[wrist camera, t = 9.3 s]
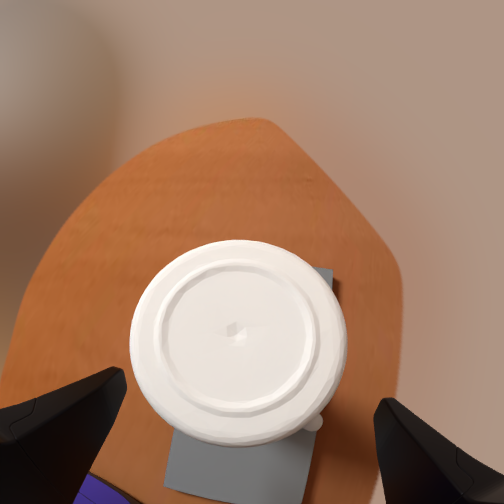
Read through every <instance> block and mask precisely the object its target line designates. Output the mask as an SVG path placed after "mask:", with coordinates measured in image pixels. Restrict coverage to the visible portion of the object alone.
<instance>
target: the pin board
mask: <svg viewBox="0 0 504 504" xmlns="http://www.w3.org/2000/svg"><path fill="white" fill-rule="evenodd" d="M312 268H314V269H315V270H316V271H317V272H318V273H319V274H320V275H321V276H322V278H323V279H324V280H325V281H326V282H327V284H328V285H329V286H330V288H331V290H332V280H333V270H331V269H324V268H318V267H312ZM322 424H323V418H322V416H321V415H320V414H318V415H317V416H316V417H315V418H314V419H313V420H312V421H311V422H310V423H308V424H307V425H306V426H304V427H303V428H302V429H300V430H299V431H297V432H295V433H294V434H292V435H290V436H288V437H286V438H283V439H281V440H279V441H276V442H273V443H269V444H266V445H262V446H256V447H249V448H229V447H222V446H216V445H211V444H207V443H204V442H202V441H199V440H196V439H194V438H191V437H189V436H187V435H185V434H184V433H182V432H180V431H178V430H177V429H175V428H174V433H173V438H172V443H171V448H170V453H169V458H168V464H167V469H166V474H165V480H164V487H167V488H171V489H174V490H177V491H181V492H184V493H188V494H192V495H196V496H200V497H204V498H208V499H213V500H218V501H223V502H228V503H234V504H301V503H302V499H303V495H304V491H305V486H306V482H307V478H308V473H309V468H310V463H311V458H312V453H313V448H314V443H315V437H316V431H317V430H318V429H319V428H320V427H321V426H322Z"/></svg>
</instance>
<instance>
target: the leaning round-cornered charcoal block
mask: <svg viewBox="0 0 504 504" xmlns="http://www.w3.org/2000/svg"><path fill="white" fill-rule="evenodd" d="M73 504H140V503H139V502H137V501H136V500H135V499H133V498H132V497H130V496H129V495H127V494H126V493H124V492H123V491H121V490H119V489H118V488H116V487H115V486H113V485H112V484H110V483H108V482H107V481H105V480H103V479H102V478H100V477H98V476H96V475H94V474H93V473H91V472H88V474H87V476H86V478H85V480H84V482H83V484H82V486H81V488H80V490H79V492H78V494H77V496H76V498H75V500H74V502H73Z"/></svg>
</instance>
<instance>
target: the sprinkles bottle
mask: <svg viewBox="0 0 504 504" xmlns="http://www.w3.org/2000/svg"><path fill="white" fill-rule="evenodd" d="M130 354H131V356H130V357H131V362H132V367H133V371H134V375H135V377H136V380H137V382H138V385H139V387H140V389H141V391H142V393H143V394H144V396H145V398H146V399H147V401H148V402H149V403H150V405H151V406H152V407H153V409H154V410H155V411H156V412H157V413H158V414H159V415H160V416H161V417H162V418H163V419H164V420H165V421H166V422H167V423H168V424H170V425H171V426H172V427H174V428H175V429H177V430H178V431H180V432H182V433H184V434H185V435H187V436H189V437H191V438H194V439H196V440H199V441H202V442H204V443H207V444H211V445H216V446H222V447H229V448H249V447H256V446H262V445H266V444H269V443H273V442H276V441H279V440H281V439H283V438H286V437H288V436H290V435H292V434H294V433H295V432H297V431H299V430H300V429H302V428H303V427H304V426H306V425H307V424H308V423H310V422H311V421H312V420H313V419H314V418H315V417H316V416H317V415H318V414H319V413H320V412H321V411H322V410H323V409H324V407H325V406H326V405H327V404H328V403H329V401H330V400H331V398H332V396H333V395H334V393H335V391H336V389H337V387H338V385H339V383H340V380H341V377H342V374H343V371H344V368H345V363H346V358H347V330H346V324H345V320H344V316H343V313H342V310H341V307H340V305H339V303H338V301H337V298H336V296H335V295H334V293H333V291H332V290H331V288H330V286H329V285H328V284H327V282H326V281H325V280H324V279H323V278H322V276H321V275H320V274H319V273H318V272H317V271H316V270H315V269H314V268H312V267H311V266H310V265H309V264H308V263H307V262H305V261H304V260H302V259H301V258H299V257H298V256H296V255H295V254H293V253H291V252H289V251H286V250H284V249H282V248H279V247H276V246H273V245H270V244H267V243H262V242H257V241H249V240H228V241H221V242H215V243H211V244H207V245H204V246H201V247H198V248H196V249H193V250H191V251H188V252H187V253H185V254H183V255H181V256H179V257H178V258H176V259H175V260H174V261H172V262H171V263H170V264H168V265H167V266H166V267H165V268H164V269H162V270H161V271H160V272H159V273H158V274H157V275H156V276H155V278H154V279H153V280H152V281H151V283H150V284H149V286H148V287H147V288H146V290H145V291H144V293H143V295H142V297H141V298H140V301H139V303H138V305H137V308H136V310H135V313H134V317H133V320H132V325H131V331H130Z"/></svg>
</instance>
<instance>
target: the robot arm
mask: <svg viewBox="0 0 504 504" xmlns="http://www.w3.org/2000/svg"><path fill="white" fill-rule="evenodd" d="M126 391H127V383H126V379H125V374H124V371H123V369H121V368H118V367H114V366H112V367H109V368H107V369H105V370H102V371H100V372H98V373H96V374H93V375H91V376H88V377H86V378H84V379H81V380H79V381H77V382H74V383H72V384H69V385H67V386H64V387H62V388H59V389H57V390H54V391H52V392H49V393H47V394H44V395H42V396H39V397H37V398H34V399H31V400H28V401H26V402H23V403H20V404H17V405H13V406H10V407H6V408H2V409H0V504H73V502H74V500H75V498H76V496H77V494H78V492H79V490H80V488H81V486H82V484H83V482H84V480H85V478H86V476H87V474H88V472H89V470H90V468H91V466H92V464H93V462H94V460H95V458H96V456H97V454H98V453H99V451H100V449H101V447H102V445H103V443H104V441H105V439H106V437H107V435H108V434H109V432H110V430H111V428H112V426H113V424H114V422H115V419H116V417H117V414H118V412H119V409H120V407H121V404H122V402H123V399H124V397H125V394H126ZM373 420H374V429H375V439H376V450H377V457H378V462H379V467H380V472H381V477H382V483H383V488H384V494H385V500H386V504H504V475H503V474H501V473H499V472H497V471H495V470H493V469H492V468H490V467H488V466H486V465H484V464H483V463H481V462H479V461H478V460H476V459H474V458H473V457H471V456H470V455H468V454H467V453H465V452H464V451H463V450H461V449H460V448H459V447H456V445H455V444H453V443H452V442H450V441H449V440H448V439H447V438H445V437H444V436H443V435H441V434H440V433H439V432H437V431H436V430H435V429H433V428H432V427H431V426H429V425H428V424H427V423H425V422H424V421H423V420H422V419H420V418H419V417H418V416H416V415H415V414H414V413H412V412H411V411H410V410H408V409H407V408H406V407H405V406H403V405H402V404H401V403H399V402H398V401H397V400H396V399H394V398H392V397H391V398H383V399H382V400H381V401H380V403H379V405H378V407H377V409H376V411H375V414H374V419H373Z"/></svg>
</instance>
